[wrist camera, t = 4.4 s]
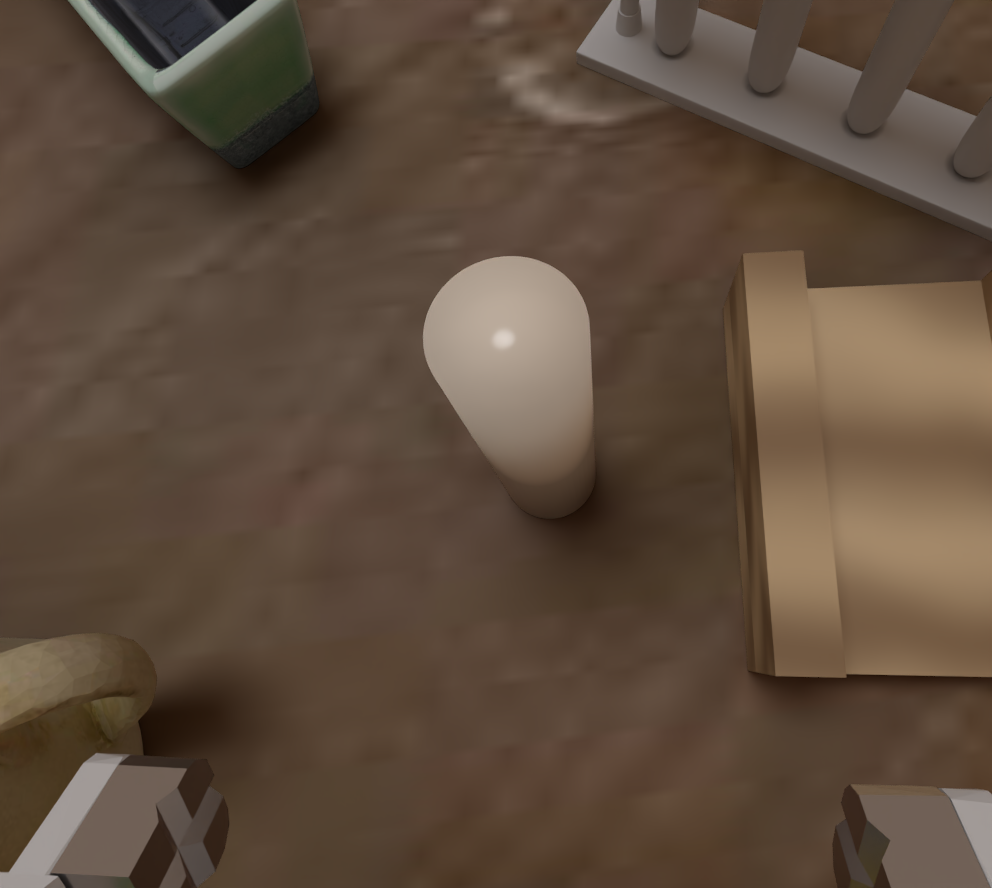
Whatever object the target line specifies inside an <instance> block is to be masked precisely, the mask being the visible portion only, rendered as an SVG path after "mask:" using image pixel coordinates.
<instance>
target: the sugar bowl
mask: <svg viewBox="0 0 992 888" xmlns="http://www.w3.org/2000/svg"><path fill="white" fill-rule="evenodd" d="M156 682H157V675H156V671H155V668H154V664H153V662H152V661H151V659H150V657H149V655H148V654H147V653H146V651H145V650H144V649H143V648H142V647H141V646H140V645H139V644H138V643H136V642H135V641H134V640H131V639H128V638H124V637H122V636H118V635H113V634H105V633H89V634H74V635H68V636H61V637H55V638H50V639H38V638H0V872H9V871H10V870H11V868H12V867H13V865H14V864H15V862H16V861H17V859H18V858H19V856H20V855H21V853H22V852H23V851H24V849H25V848H26V846H27V845H28V843H29V842H30V840H31V839H32V837H33V836H34V834H35V833H36V831H37V830H38V829H39V827H40V826H41V824H42V823H43V821H44V820H45V818H46V817H47V815H48V814H49V812H50V811H51V810H52V808H53V807H54V805H55V804H56V802H57V801H58V799H59V798H60V796H61V795H62V793H63V792H64V790H65V789H66V788H67V786H68V785H69V783H70V782H71V780H72V779H73V777H74V776H75V774H76V773H77V771H78V770H79V768H80V767H81V766H82V764H83V763H84V762H85V761H87V760H88V759H89V758H91V757H92V756H93V755H95V754H96V753H107V754H131V755H142V756H144V755H143V743H142V736H141V731H140V727H139V723H138V720H139V719H140V718H141V717H142V716H143V715H144V714H145V713H146V712H147V711H148V709H149V708H150V706H151V704H152V702H153V699H154V696H155V691H156Z"/></svg>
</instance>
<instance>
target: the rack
mask: <svg viewBox="0 0 992 888" xmlns="http://www.w3.org/2000/svg"><path fill="white" fill-rule="evenodd" d="M723 319H724V334H725V348H726V363H727V377H728V392H729V406H730V421H731V435H732V450H733V465H734V479H735V494H736V508H737V523H738V537H739V552H740V566H741V581H742V595H743V610H744V624H745V639H746V654H747V668H748V671H753V672H757V673H762V674H767V675H772V676H790V677H838V678H846V674H868V675H917V676H966V677H992V271H991V272H989V273H988V274H987V275H986V276H985V277H984V278H983V279H982V280H981V281H961V282H940V283H919V284H898V285H877V286H856V287H835V288H814V289H807V282H806V272H805V262H804V253H803V250H799V251H781V252H763V253H744V254H743V255H742V257H741V260H740V263H739V266H738V268H737V271H736V274H735V277H734V280H733V282H732V285H731V288H730V291H729V293H728V296H727V299H726V302H725V305H724V307H723Z"/></svg>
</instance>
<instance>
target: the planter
mask: <svg viewBox="0 0 992 888" xmlns="http://www.w3.org/2000/svg"><path fill="white" fill-rule="evenodd" d="M68 2H69V3H70V4H71V5H72V6H73V8H74V9H75V10H76V11H77V13H78V14H79V15H80V16H81V17H82V19H83V20H84V21H85V22H86V23H87V25H88V26H89V27H90V28H91V30H92V31H93V32H94V33H95V34H96V36H97V37H98V38H99V39H100V40H101V42H102V43H103V44H104V45H105V46H106V48H107V49H108V50H109V51H110V52H111V54H112V55H113V56H114V57H115V58H116V60H117V61H118V62H119V63H120V64H121V66H122V67H123V68H124V69H125V70H126V72H127V73H128V74H129V75H130V76H131V77H132V78H133V79H134V81H135V82H136V83H137V84H138V85H139V86H140V87H141V88H142V90H143V91H144V92H145V93H146V94H147V95H148V96H149V97H150V98H151V99H152V100H153V101H154V102H155V103H156V104H158V105H159V106H160V107H161V108H162V109H163V110H164V111H166V112H167V113H168V114H169V115H170V116H172V117H173V118H174V119H175V120H176V121H177V122H179V123H180V124H181V125H182V126H184V127H185V128H186V129H187V130H188V131H190V132H191V133H192V134H193V135H194V136H196V137H197V138H198V139H199V140H201V141H202V142H203V143H204V144H206V145H207V146H208V147H209V148H211V149H212V150H213V151H214V152H216V153H217V154H218V155H219V156H221V157H222V158H223V159H224V160H226V161H227V162H228V163H230V164H231V165H232V166H234V167H235V168H243V167H246V166H248V165H249V164H251V163H252V162H253V161H255V160H256V159H257V158H259V157H260V156H261V155H263V154H264V153H265V152H267V151H268V150H269V149H271V148H272V147H273V146H275V145H276V144H277V143H278V142H280V141H281V140H282V139H284V138H285V137H286V136H287V135H289V134H290V133H291V132H293V131H294V130H295V129H296V128H298V127H299V126H300V125H302V124H303V123H304V122H305V121H307V120H308V119H309V118H310V117H312V116H313V115H314V114H315V113H316V112H317V110H318V108H319V98H318V92H317V87H316V82H315V77H314V72H313V67H312V63H311V58H310V53H309V49H308V45H307V40H306V36H305V31H304V27H303V23H302V19H301V15H300V11H299V7H298V4H297V1H296V0H68Z"/></svg>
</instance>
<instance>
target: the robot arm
mask: <svg viewBox="0 0 992 888" xmlns="http://www.w3.org/2000/svg"><path fill="white" fill-rule="evenodd" d="M213 777H214V773H213V771H212V769H211V767H210V765H209V763H208V761H207V759H194V758H177V757H159V756H142V755H131V754H107V753H96V754H95V755H93V756H92V757H91V758H89V759H88V760H87V761H85V762H84V763H83V764H82V766H81V767H80V768H79V770H78V771H77V773H76V774H75V776H74V777H73V779H72V780H71V782H70V783H69V785H68V786H67V788H66V789H65V790H64V792H63V793H62V795H61V796H60V798H59V799H58V801H57V802H56V804H55V805H54V807H53V808H52V810H51V811H50V812H49V814H48V815H47V817H46V818H45V820H44V821H43V823H42V824H41V826H40V827H39V829H38V830H37V831H36V833H35V834H34V836H33V837H32V839H31V840H30V842H29V843H28V845H27V846H26V848H25V849H24V851H23V852H22V853H21V855H20V856H19V858H18V859H17V861H16V862H15V864H14V865H13V867H12V868H11V870H10V871H9V872H0V888H197V887H198V886H199V885H200V884H201V883H202V882H204V881H205V880H206V879H207V878H208V877H209V876H210V875H211V874H213V873H214V872H215V871H216V869H217V866H218V864H219V861H220V859H221V857H222V854H223V852H224V849H225V845H226V840H227V834H228V829H229V814H228V807H227V805H226V802H225V799H224V797H223V796H222V795H221V794H219V793H218V792H217V791H215V790H214V789H213V788H211V787H210V786H209V785H210V783H211V781H212V779H213ZM841 804H842V808H843V811H844V814H845V817H846V819H845V820H844V821H842V822H841V823H839V824H838V825H836V827H835V833H834V838H833V867H834V873H835V878H836V883H837V888H992V794H991V793H990V792H989V791H987V790H982V789H952V788H936V787H935V786H896V785H855V784H850V785H848V786H847V787H846V788H845V789H844V793H843V797H842V801H841Z"/></svg>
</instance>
